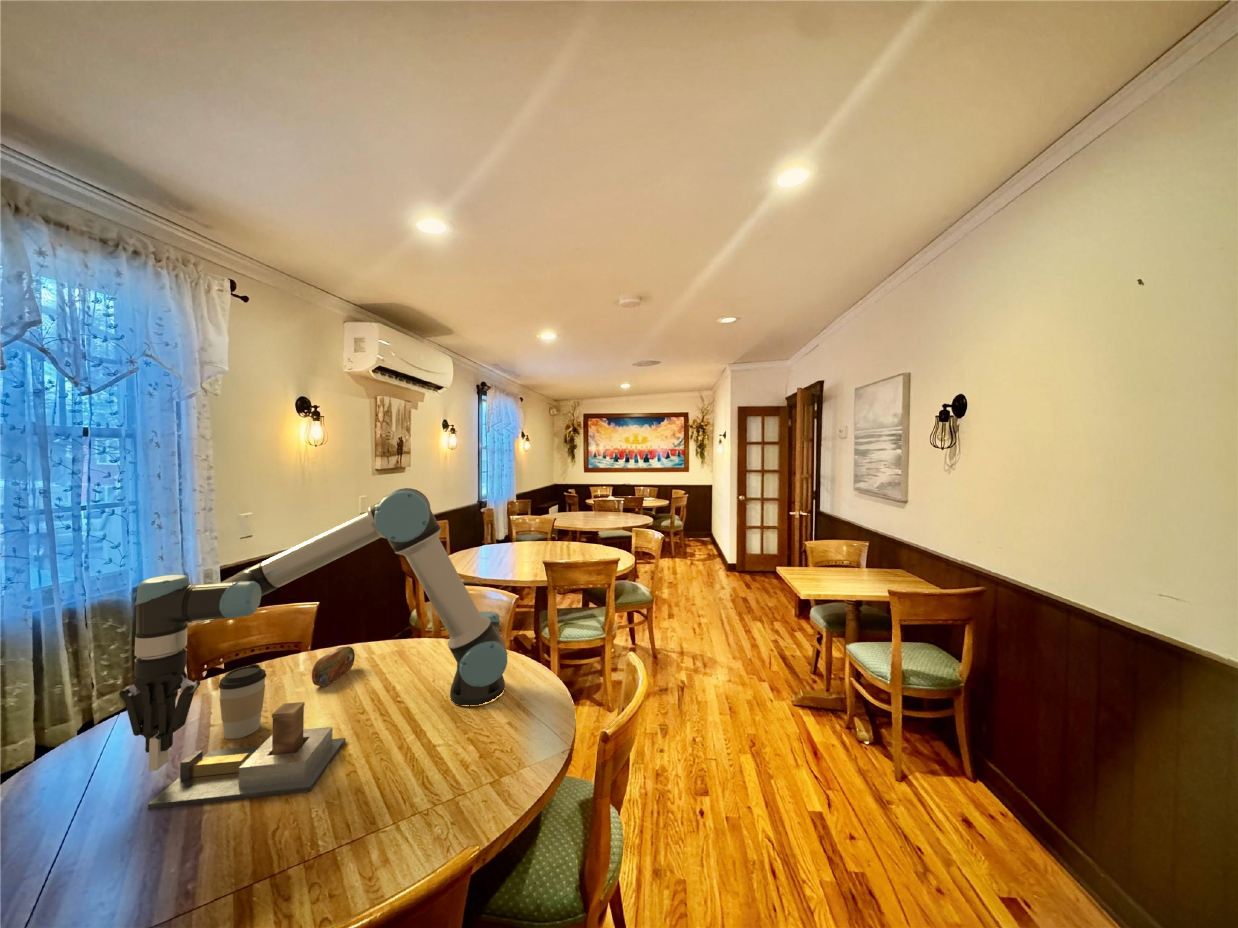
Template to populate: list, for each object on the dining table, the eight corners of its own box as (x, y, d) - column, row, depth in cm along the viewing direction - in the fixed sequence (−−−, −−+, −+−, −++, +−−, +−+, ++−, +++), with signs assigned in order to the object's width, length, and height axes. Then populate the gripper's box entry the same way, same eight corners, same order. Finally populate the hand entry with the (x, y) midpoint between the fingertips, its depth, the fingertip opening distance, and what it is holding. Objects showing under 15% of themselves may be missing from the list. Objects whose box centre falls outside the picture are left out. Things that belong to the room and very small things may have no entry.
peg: (303, 756, 97) (304, 701, 97) (293, 769, 93) (294, 712, 93) (282, 758, 96) (283, 703, 96) (271, 771, 92) (271, 714, 92)
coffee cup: (237, 744, 102) (238, 680, 103) (207, 739, 104) (208, 676, 104) (274, 722, 111) (275, 663, 111) (246, 717, 113) (247, 660, 113)
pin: (250, 762, 95) (250, 745, 95) (238, 773, 91) (239, 756, 91) (193, 767, 93) (194, 751, 93) (180, 779, 89) (180, 762, 89)
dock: (345, 741, 104) (345, 720, 104) (310, 791, 88) (310, 766, 88) (210, 754, 99) (210, 732, 99) (148, 809, 83) (148, 783, 83)
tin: (319, 691, 126) (319, 662, 127) (309, 691, 127) (309, 662, 127) (355, 668, 141) (355, 642, 142) (346, 667, 142) (346, 641, 142)
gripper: (211, 642, 95) (208, 751, 95) (141, 646, 93) (138, 757, 93) (183, 657, 88) (180, 775, 88) (106, 661, 85) (103, 782, 85)
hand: (158, 765), depth 90 cm, fingers closed
